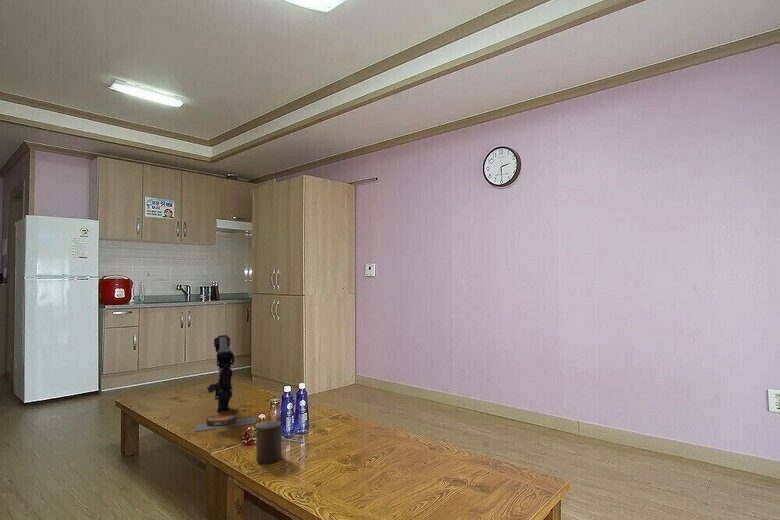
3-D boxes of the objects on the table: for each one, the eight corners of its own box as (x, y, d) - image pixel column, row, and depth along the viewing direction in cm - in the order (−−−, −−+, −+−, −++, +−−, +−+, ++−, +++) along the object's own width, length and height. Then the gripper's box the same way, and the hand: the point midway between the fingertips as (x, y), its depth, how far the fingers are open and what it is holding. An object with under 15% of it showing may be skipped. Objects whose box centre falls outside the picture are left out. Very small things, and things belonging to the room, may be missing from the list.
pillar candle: (272, 465, 172) (271, 425, 173) (251, 462, 175) (250, 423, 176) (286, 456, 181) (286, 418, 182) (266, 453, 184) (265, 416, 185)
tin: (239, 414, 229) (232, 418, 220) (239, 421, 228) (232, 425, 220) (211, 415, 230) (203, 419, 222) (211, 421, 230) (202, 425, 221)
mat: (196, 425, 223) (196, 424, 223) (255, 417, 233) (255, 417, 233) (194, 431, 214) (194, 431, 214) (256, 423, 223) (256, 422, 223)
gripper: (208, 374, 231) (209, 404, 231) (206, 381, 214) (207, 414, 213) (231, 371, 235) (232, 401, 234) (231, 379, 217) (232, 411, 217)
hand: (225, 407), depth 225 cm, fingers closed
